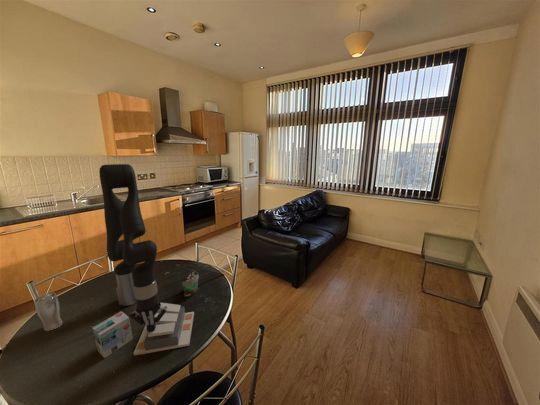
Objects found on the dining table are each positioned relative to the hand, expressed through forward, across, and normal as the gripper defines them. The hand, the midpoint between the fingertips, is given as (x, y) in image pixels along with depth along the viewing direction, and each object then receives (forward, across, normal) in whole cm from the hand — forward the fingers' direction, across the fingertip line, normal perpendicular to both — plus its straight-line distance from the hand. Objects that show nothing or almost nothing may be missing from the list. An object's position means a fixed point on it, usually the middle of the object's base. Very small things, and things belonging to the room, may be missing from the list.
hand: (151, 330), depth 86 cm
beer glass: (+8, -46, +20) cm, 51 cm away
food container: (+7, +12, +32) cm, 35 cm away
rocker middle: (+1, +4, +6) cm, 7 cm away
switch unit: (+7, +4, +6) cm, 10 cm away
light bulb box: (+8, -15, +4) cm, 18 cm away
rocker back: (+1, +4, +12) cm, 13 cm away
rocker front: (+1, +4, 0) cm, 4 cm away
